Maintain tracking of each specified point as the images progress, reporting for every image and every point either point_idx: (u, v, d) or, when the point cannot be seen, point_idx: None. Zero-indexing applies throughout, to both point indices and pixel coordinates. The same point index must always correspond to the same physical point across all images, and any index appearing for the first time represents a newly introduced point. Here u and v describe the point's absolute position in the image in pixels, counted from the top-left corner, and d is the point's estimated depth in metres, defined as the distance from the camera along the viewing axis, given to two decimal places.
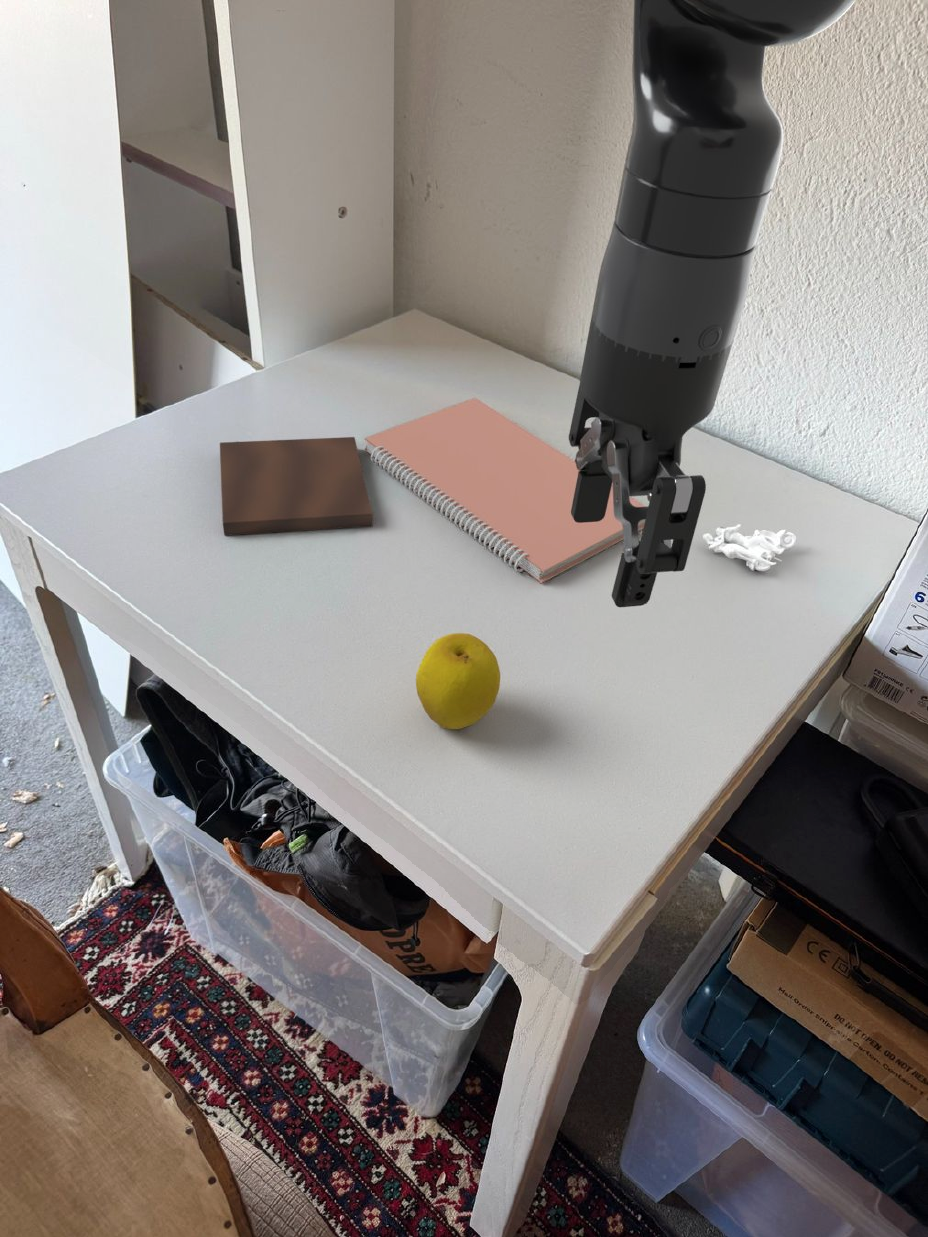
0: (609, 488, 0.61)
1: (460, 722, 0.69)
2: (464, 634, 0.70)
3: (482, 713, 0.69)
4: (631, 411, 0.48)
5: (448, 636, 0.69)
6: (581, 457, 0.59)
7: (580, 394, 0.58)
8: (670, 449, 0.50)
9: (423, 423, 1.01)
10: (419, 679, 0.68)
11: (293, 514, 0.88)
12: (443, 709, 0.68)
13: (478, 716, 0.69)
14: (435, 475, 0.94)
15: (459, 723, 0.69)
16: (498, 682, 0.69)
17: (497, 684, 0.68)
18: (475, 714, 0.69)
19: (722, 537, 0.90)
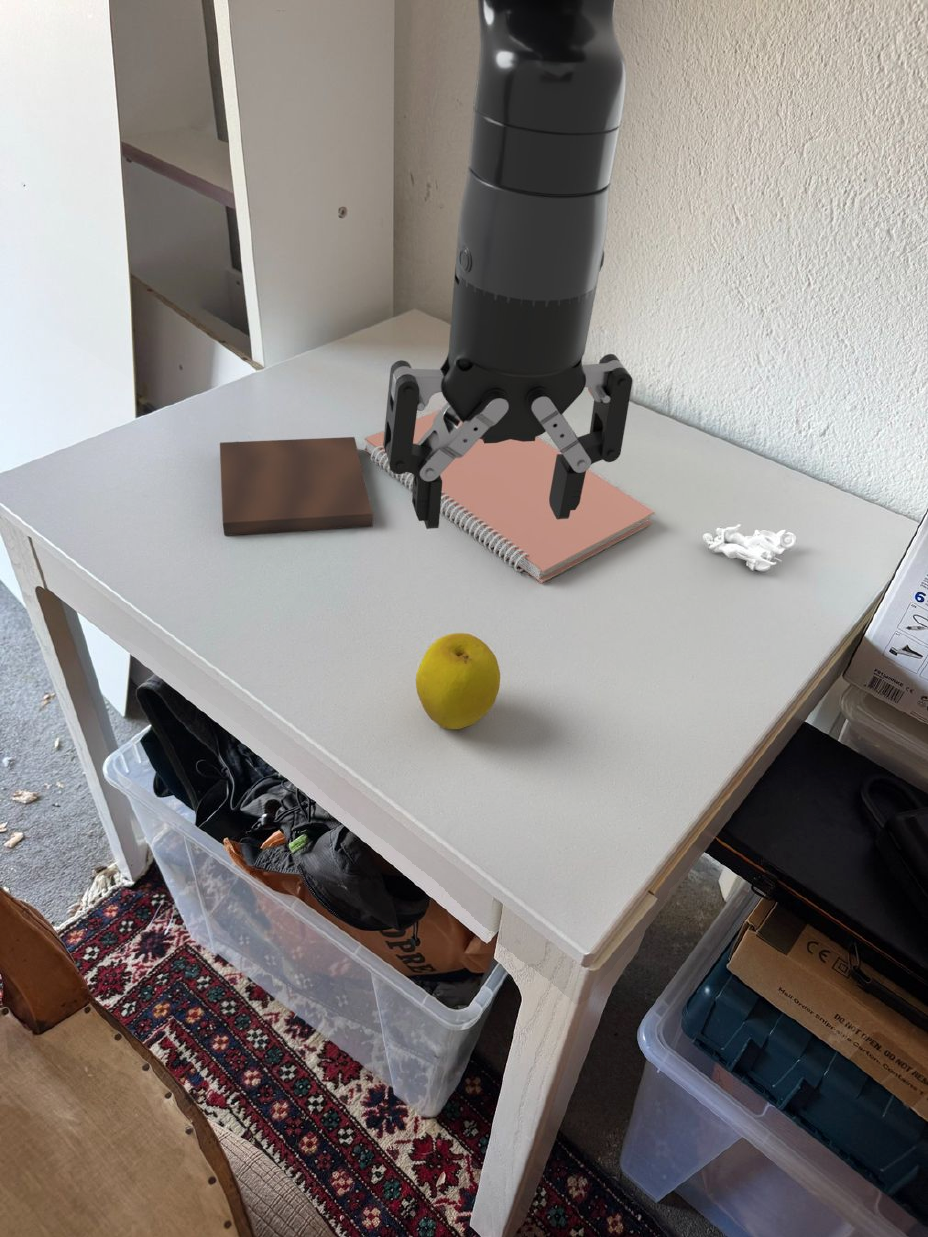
0: (564, 486, 0.57)
1: (460, 722, 0.69)
2: (464, 634, 0.70)
3: (482, 713, 0.69)
4: None
5: (448, 636, 0.69)
6: None
7: None
8: None
9: (423, 423, 1.01)
10: (419, 679, 0.68)
11: (293, 514, 0.88)
12: (443, 709, 0.68)
13: (478, 716, 0.69)
14: None
15: (459, 723, 0.69)
16: (498, 682, 0.69)
17: (497, 684, 0.68)
18: (475, 714, 0.69)
19: (722, 537, 0.90)
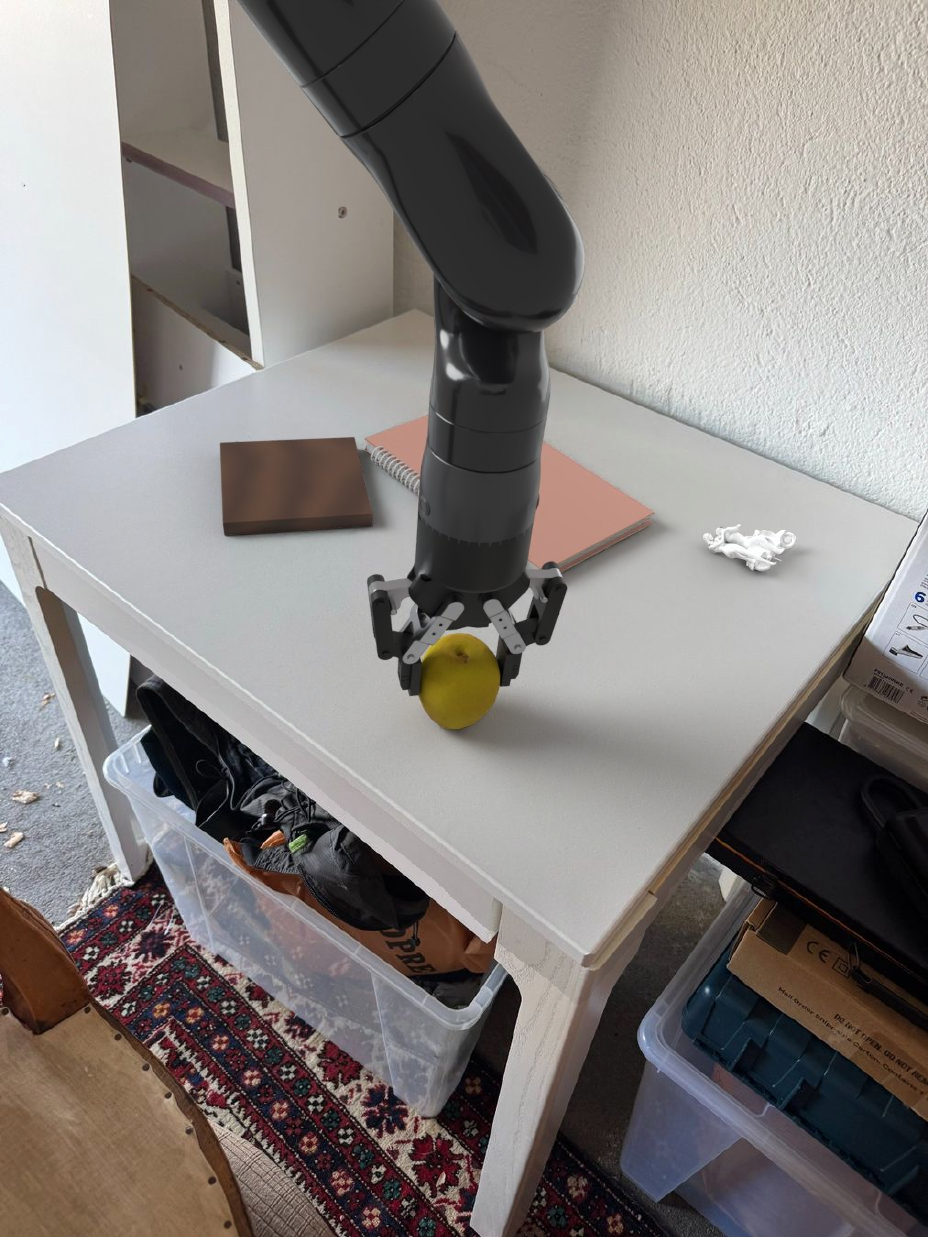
0: (504, 663, 0.68)
1: (460, 722, 0.69)
2: (464, 634, 0.70)
3: (482, 713, 0.69)
4: None
5: (448, 636, 0.69)
6: None
7: None
8: (414, 579, 0.62)
9: (423, 423, 1.01)
10: None
11: (293, 514, 0.88)
12: (443, 709, 0.68)
13: (478, 716, 0.69)
14: None
15: (459, 723, 0.69)
16: (498, 682, 0.69)
17: (497, 684, 0.68)
18: (475, 714, 0.69)
19: (722, 537, 0.90)
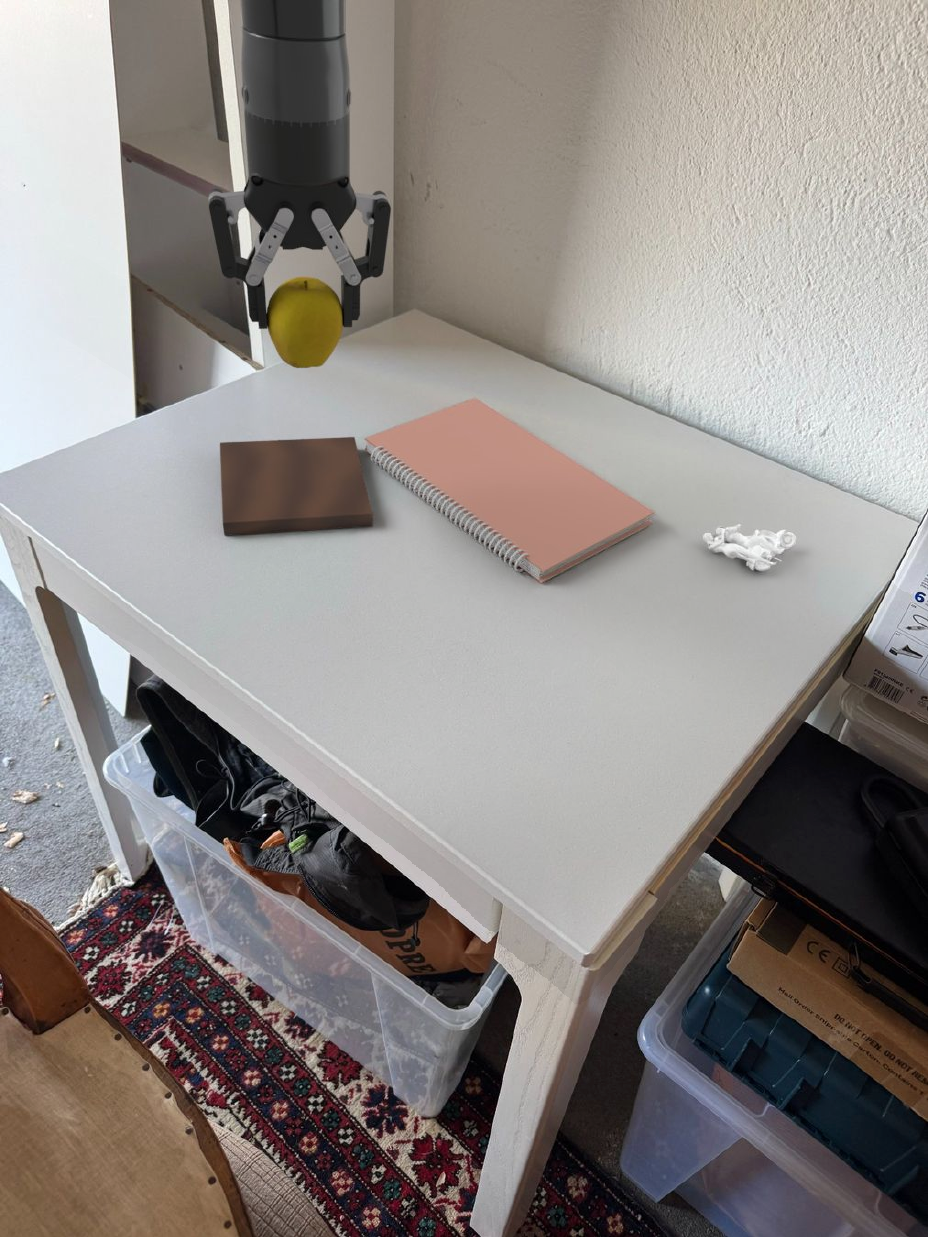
0: (343, 297, 0.76)
1: (304, 353, 0.76)
2: (310, 277, 0.77)
3: (325, 346, 0.76)
4: None
5: None
6: None
7: None
8: None
9: (423, 423, 1.01)
10: (267, 312, 0.76)
11: (293, 514, 0.88)
12: (286, 335, 0.75)
13: (321, 349, 0.76)
14: (435, 475, 0.94)
15: (304, 355, 0.76)
16: (338, 315, 0.76)
17: (337, 316, 0.76)
18: (318, 344, 0.76)
19: (722, 537, 0.90)
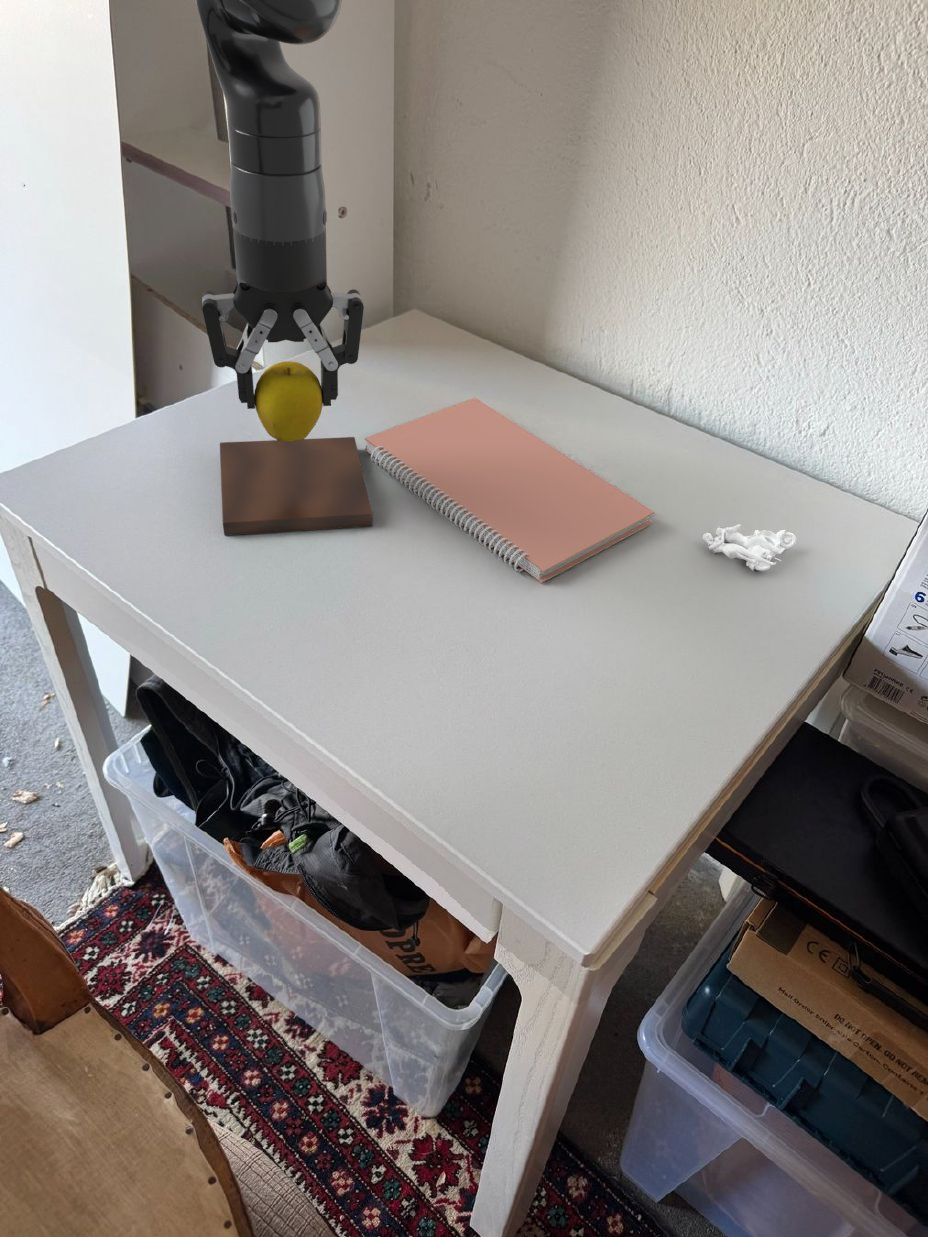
0: (323, 381, 0.85)
1: (288, 430, 0.85)
2: None
3: (306, 423, 0.86)
4: None
5: None
6: None
7: None
8: None
9: (423, 423, 1.01)
10: (255, 394, 0.85)
11: (293, 514, 0.88)
12: (272, 415, 0.84)
13: (303, 426, 0.86)
14: (435, 475, 0.94)
15: (288, 432, 0.86)
16: (318, 397, 0.85)
17: (317, 398, 0.85)
18: (300, 423, 0.85)
19: (722, 537, 0.90)
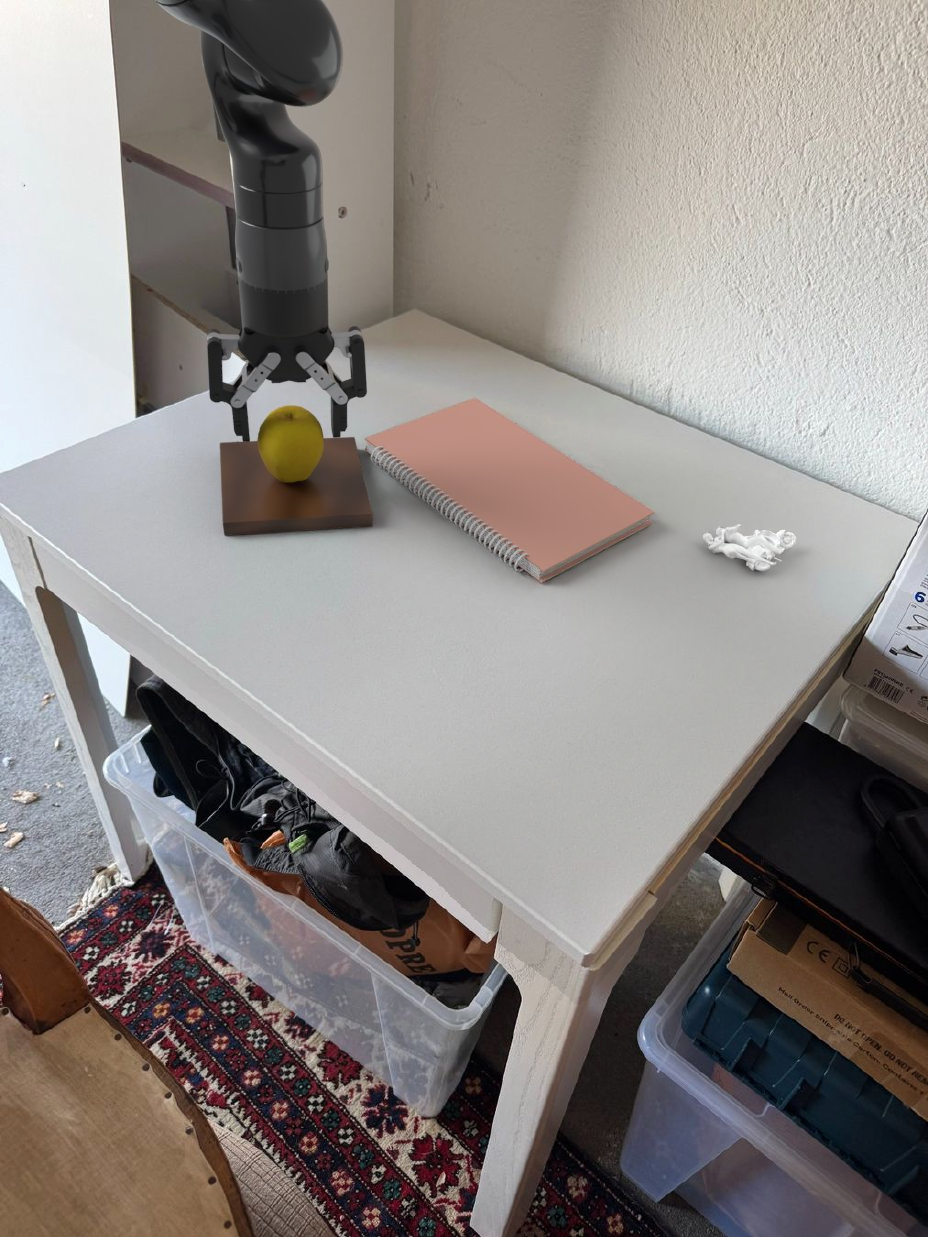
0: (332, 414, 0.87)
1: (290, 472, 0.89)
2: None
3: (308, 465, 0.89)
4: None
5: (282, 406, 0.89)
6: None
7: None
8: None
9: (423, 423, 1.01)
10: (258, 437, 0.88)
11: (293, 514, 0.88)
12: (275, 458, 0.87)
13: (305, 468, 0.89)
14: (435, 475, 0.94)
15: (290, 473, 0.89)
16: (319, 440, 0.88)
17: (318, 441, 0.88)
18: (302, 465, 0.88)
19: (722, 537, 0.90)
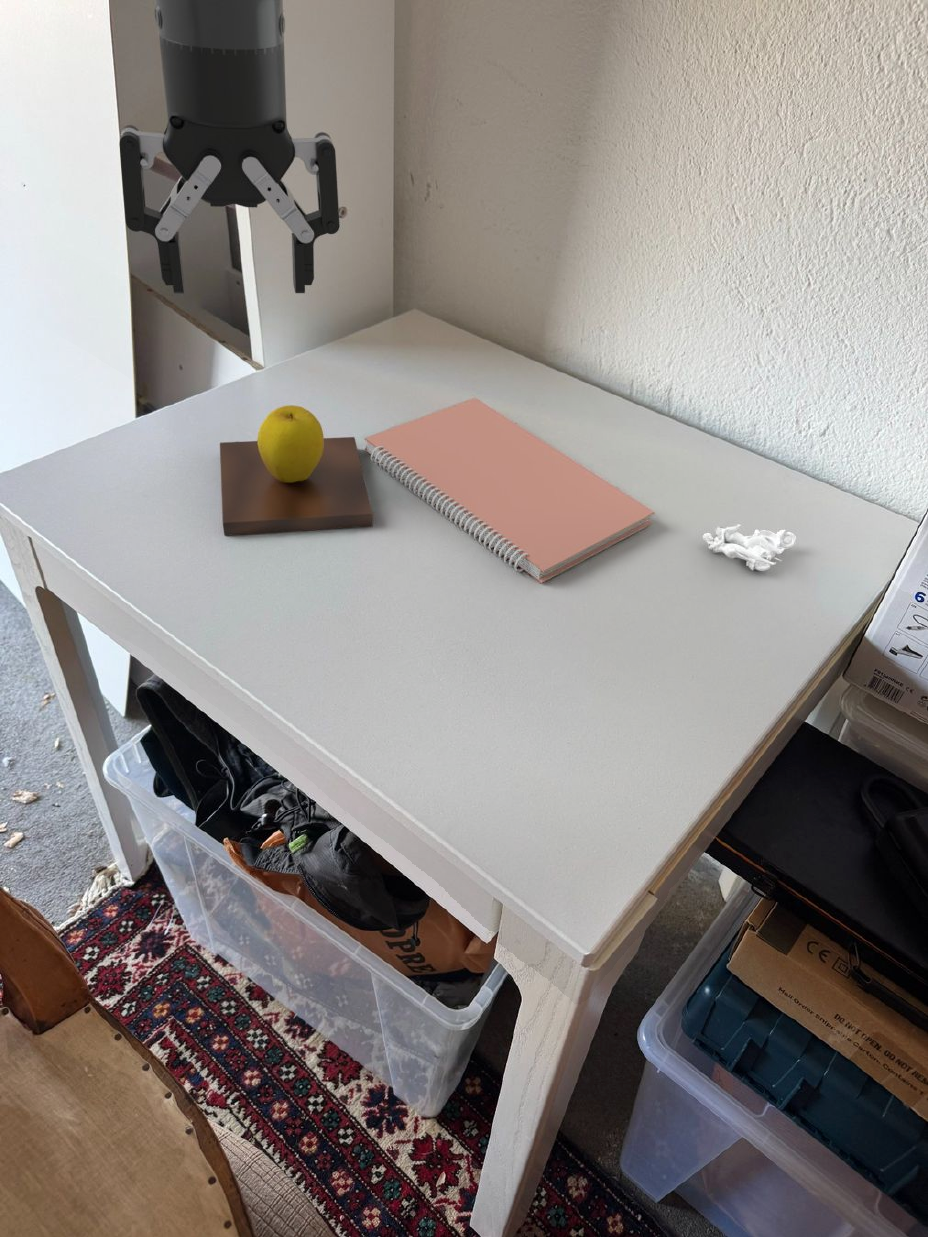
0: (294, 257, 0.66)
1: (290, 472, 0.89)
2: None
3: (308, 465, 0.89)
4: None
5: (282, 406, 0.89)
6: None
7: None
8: None
9: (423, 423, 1.01)
10: (258, 437, 0.88)
11: (293, 514, 0.88)
12: (275, 458, 0.87)
13: (305, 468, 0.89)
14: (435, 475, 0.94)
15: (290, 474, 0.89)
16: (320, 440, 0.88)
17: (318, 441, 0.88)
18: (302, 465, 0.88)
19: (722, 537, 0.90)
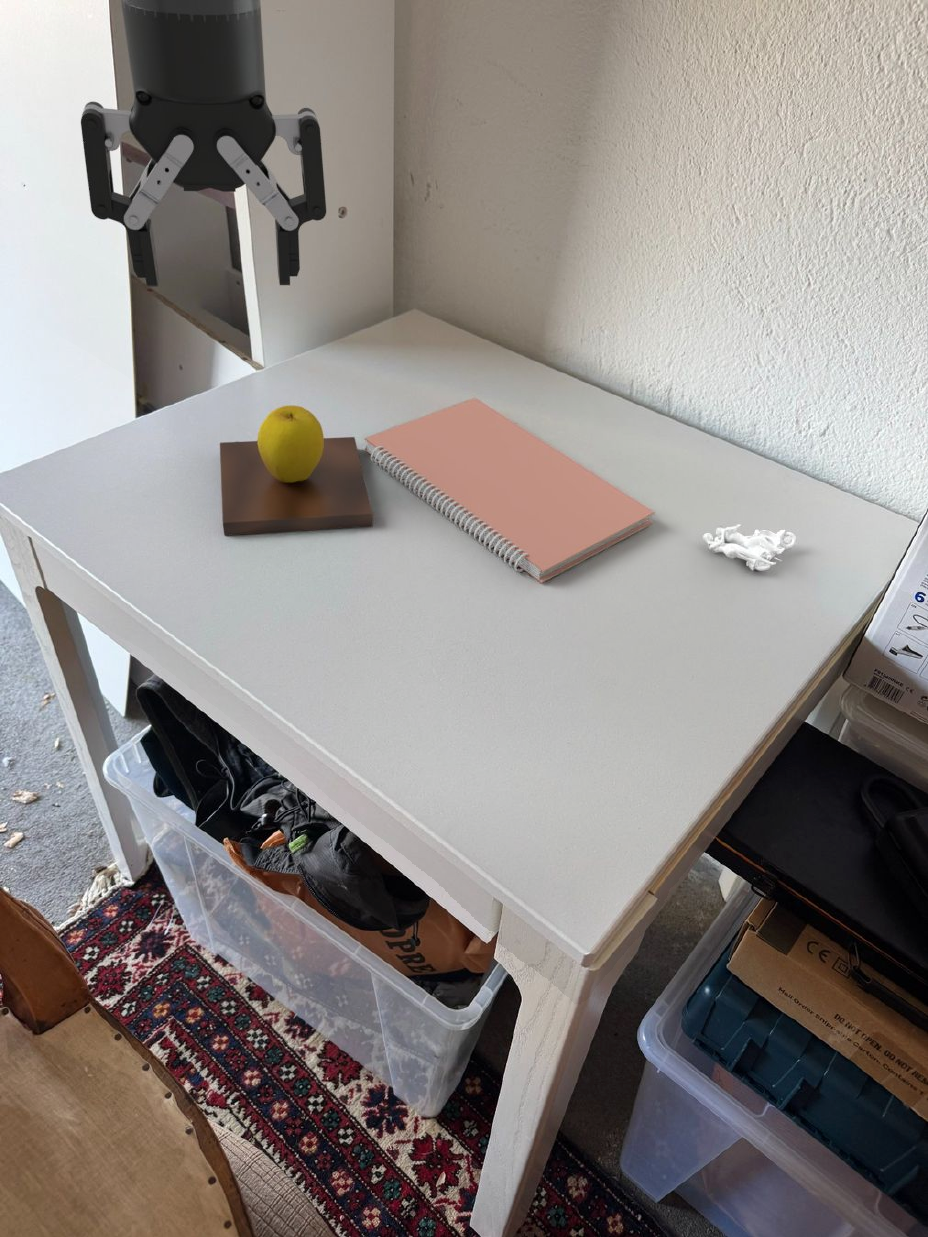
0: (277, 246, 0.60)
1: (290, 472, 0.89)
2: None
3: (308, 465, 0.89)
4: None
5: (282, 406, 0.89)
6: None
7: None
8: None
9: (423, 423, 1.01)
10: (258, 437, 0.88)
11: (293, 514, 0.88)
12: (275, 458, 0.87)
13: (305, 468, 0.89)
14: (435, 475, 0.94)
15: (290, 474, 0.89)
16: (320, 440, 0.88)
17: (318, 441, 0.88)
18: (302, 465, 0.88)
19: (722, 537, 0.90)
